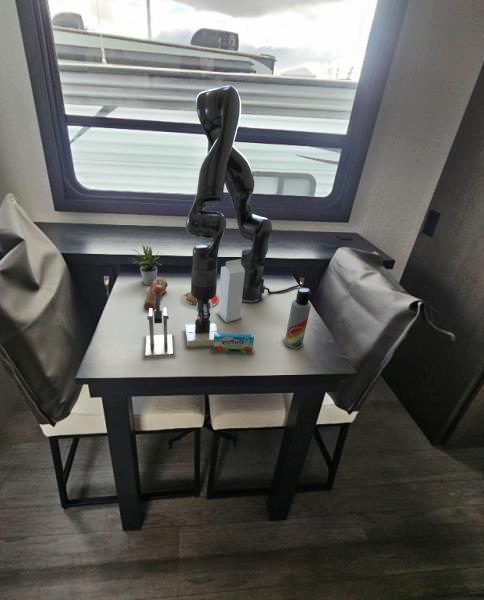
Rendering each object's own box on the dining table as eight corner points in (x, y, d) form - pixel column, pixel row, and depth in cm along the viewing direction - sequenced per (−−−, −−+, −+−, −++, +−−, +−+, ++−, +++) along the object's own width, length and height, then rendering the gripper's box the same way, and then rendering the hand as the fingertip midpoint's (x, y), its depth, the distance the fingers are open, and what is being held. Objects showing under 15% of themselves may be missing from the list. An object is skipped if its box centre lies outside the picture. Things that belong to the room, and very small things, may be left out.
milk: (240, 319, 114) (246, 262, 104) (225, 322, 112) (230, 265, 101) (231, 310, 119) (236, 256, 108) (217, 314, 116) (221, 258, 105)
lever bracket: (146, 338, 100) (144, 303, 94) (171, 337, 102) (171, 302, 96) (145, 358, 92) (142, 321, 86) (173, 357, 93) (172, 320, 87)
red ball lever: (152, 289, 99) (152, 283, 97) (162, 289, 100) (162, 282, 97) (152, 324, 92) (152, 318, 89) (163, 323, 92) (163, 317, 90)
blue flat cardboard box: (213, 352, 96) (214, 336, 93) (213, 349, 98) (214, 333, 95) (251, 353, 97) (254, 337, 94) (251, 350, 98) (253, 334, 96)
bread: (168, 289, 131) (167, 277, 128) (155, 313, 114) (154, 299, 111) (153, 288, 131) (152, 275, 128) (138, 311, 114) (137, 298, 111)
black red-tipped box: (208, 329, 102) (209, 316, 99) (209, 332, 100) (210, 319, 98) (194, 330, 101) (194, 316, 98) (195, 333, 99) (195, 320, 97)
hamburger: (218, 309, 119) (219, 295, 116) (181, 308, 118) (181, 294, 115) (217, 292, 131) (217, 279, 129) (183, 291, 130) (183, 278, 127)
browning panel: (214, 330, 107) (215, 322, 105) (219, 346, 99) (219, 338, 98) (185, 332, 105) (185, 324, 103) (187, 348, 97) (187, 340, 96)
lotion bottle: (298, 351, 100) (311, 295, 90) (281, 344, 102) (292, 289, 93) (304, 342, 104) (316, 288, 95) (288, 336, 107) (298, 283, 97)
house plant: (125, 278, 137) (121, 242, 129) (154, 272, 145) (153, 237, 137) (138, 291, 127) (135, 253, 120) (169, 284, 135) (168, 247, 127)
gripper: (220, 291, 87) (217, 342, 95) (213, 270, 98) (210, 317, 107) (193, 291, 85) (192, 343, 94) (189, 270, 97) (188, 318, 105)
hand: (202, 329), depth 100 cm, fingers closed on black red-tipped box, 2 cm apart
